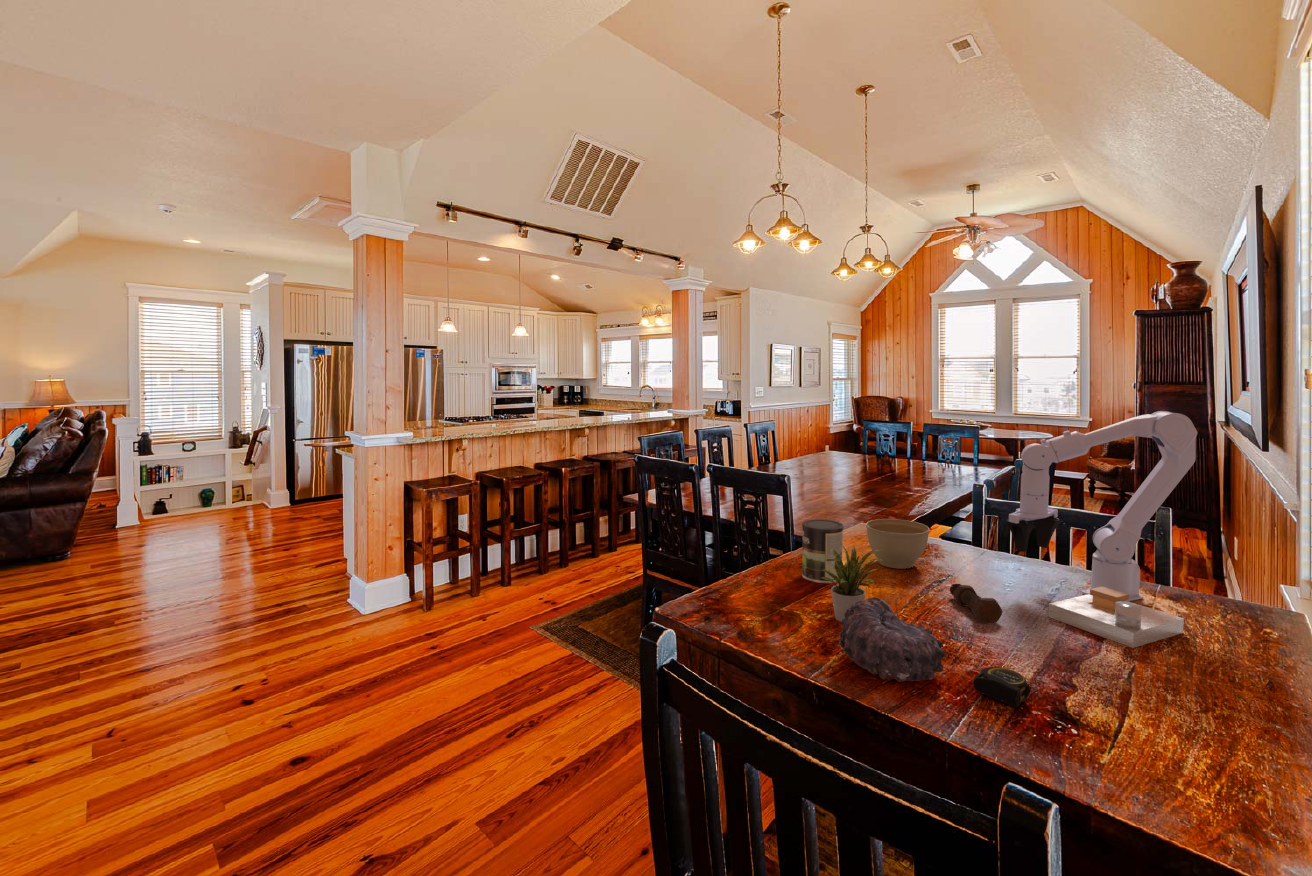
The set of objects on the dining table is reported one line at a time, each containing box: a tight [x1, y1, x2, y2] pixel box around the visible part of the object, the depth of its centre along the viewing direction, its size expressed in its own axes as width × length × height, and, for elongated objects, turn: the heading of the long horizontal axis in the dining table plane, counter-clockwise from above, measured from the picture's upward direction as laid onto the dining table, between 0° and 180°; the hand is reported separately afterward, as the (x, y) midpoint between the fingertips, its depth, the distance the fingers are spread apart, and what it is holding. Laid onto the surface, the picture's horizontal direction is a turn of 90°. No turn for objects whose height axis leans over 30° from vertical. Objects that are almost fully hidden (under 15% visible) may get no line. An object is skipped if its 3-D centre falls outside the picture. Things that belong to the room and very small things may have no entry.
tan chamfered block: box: [1090, 587, 1129, 612], centre depth 123 cm, size 4×5×6 cm
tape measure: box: [973, 666, 1031, 708], centre depth 95 cm, size 7×7×4 cm
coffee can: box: [801, 518, 844, 584], centre depth 152 cm, size 10×10×14 cm
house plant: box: [816, 543, 885, 623], centre depth 125 cm, size 14×14×16 cm
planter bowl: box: [865, 518, 930, 570], centre depth 162 cm, size 16×16×11 cm
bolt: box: [949, 583, 1003, 624], centre depth 130 cm, size 6×5×15 cm
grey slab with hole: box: [1048, 594, 1185, 649], centre depth 121 cm, size 16×16×7 cm
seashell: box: [838, 596, 946, 683], centre depth 105 cm, size 19×13×15 cm
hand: (1031, 548), depth 143 cm, fingers open, 7 cm apart
